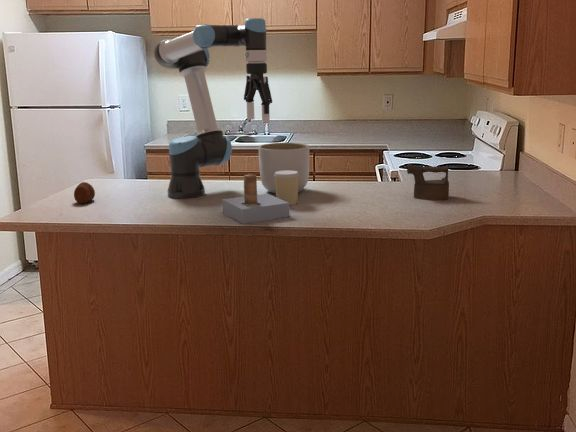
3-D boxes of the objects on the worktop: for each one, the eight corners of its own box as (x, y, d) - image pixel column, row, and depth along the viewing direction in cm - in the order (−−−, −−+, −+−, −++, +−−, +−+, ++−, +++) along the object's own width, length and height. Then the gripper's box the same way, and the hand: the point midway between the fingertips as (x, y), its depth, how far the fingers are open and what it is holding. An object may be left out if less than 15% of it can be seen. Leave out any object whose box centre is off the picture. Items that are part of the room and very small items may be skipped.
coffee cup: (298, 199, 249) (298, 169, 246) (299, 205, 240) (299, 174, 237) (274, 200, 249) (273, 170, 246) (275, 206, 240) (274, 174, 237)
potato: (70, 205, 248) (68, 185, 246) (79, 199, 259) (77, 179, 257) (90, 205, 248) (88, 185, 246) (98, 198, 259) (96, 179, 257)
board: (222, 212, 231) (222, 199, 230) (267, 206, 239) (266, 193, 238) (242, 223, 216) (242, 209, 215) (289, 216, 224) (289, 202, 223)
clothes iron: (405, 195, 252) (406, 162, 249) (446, 195, 251) (447, 161, 248) (407, 200, 245) (408, 165, 241) (449, 199, 244) (451, 165, 240)
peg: (242, 217, 225) (241, 175, 221) (254, 215, 227) (253, 173, 223) (248, 219, 221) (246, 177, 217) (260, 218, 223) (258, 176, 219)
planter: (282, 199, 250) (281, 151, 246) (249, 191, 266) (248, 146, 261) (320, 191, 264) (319, 145, 259) (287, 184, 279) (286, 141, 274)
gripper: (233, 62, 241) (236, 118, 246) (261, 63, 219) (263, 125, 225) (252, 62, 244) (253, 117, 250) (280, 62, 223) (282, 123, 228)
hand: (258, 121), depth 237 cm, fingers open, 13 cm apart
